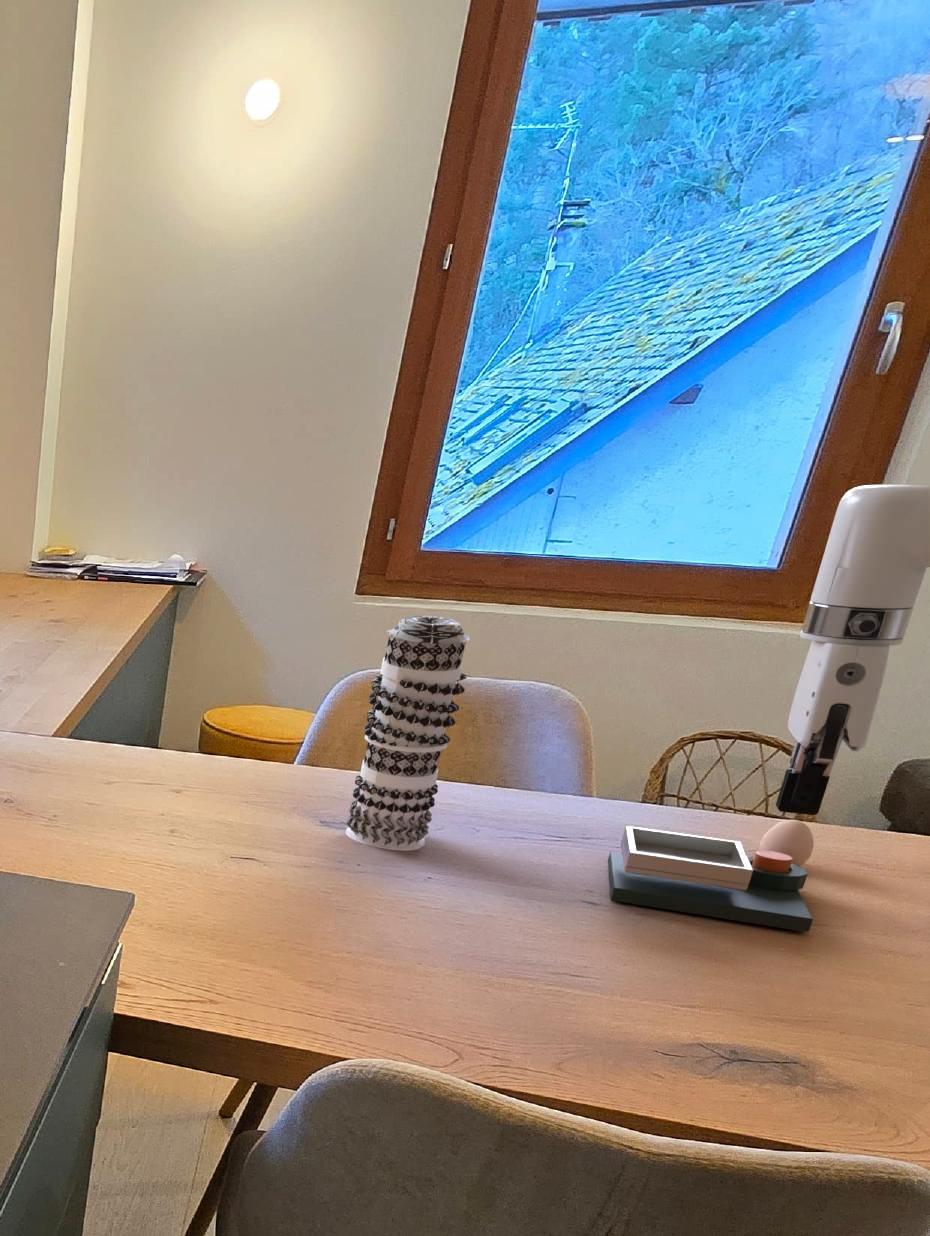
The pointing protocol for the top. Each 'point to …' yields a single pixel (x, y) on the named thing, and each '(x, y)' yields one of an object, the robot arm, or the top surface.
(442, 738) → the decorative candle
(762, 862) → the button
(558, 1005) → the top surface
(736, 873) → the pan
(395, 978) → the top surface
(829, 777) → the robot arm
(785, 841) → the egg
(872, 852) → the top surface
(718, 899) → the scale
